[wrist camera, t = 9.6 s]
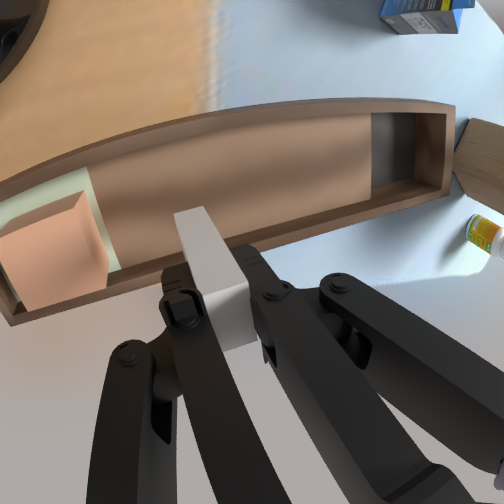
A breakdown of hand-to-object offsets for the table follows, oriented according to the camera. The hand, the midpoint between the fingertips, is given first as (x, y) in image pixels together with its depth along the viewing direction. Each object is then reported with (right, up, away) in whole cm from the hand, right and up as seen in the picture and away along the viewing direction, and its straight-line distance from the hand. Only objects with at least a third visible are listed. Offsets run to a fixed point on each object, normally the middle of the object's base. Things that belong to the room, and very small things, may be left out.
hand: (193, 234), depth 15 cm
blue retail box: (+19, +27, +6) cm, 34 cm away
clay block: (-12, 0, +5) cm, 13 cm away
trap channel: (+2, +6, +11) cm, 13 cm away
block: (+37, +14, +21) cm, 45 cm away
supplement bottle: (+44, +4, +30) cm, 53 cm away
